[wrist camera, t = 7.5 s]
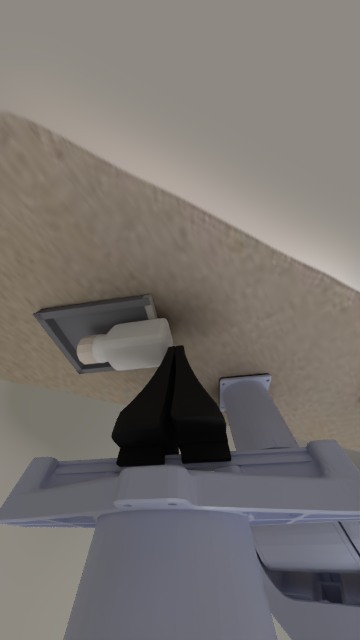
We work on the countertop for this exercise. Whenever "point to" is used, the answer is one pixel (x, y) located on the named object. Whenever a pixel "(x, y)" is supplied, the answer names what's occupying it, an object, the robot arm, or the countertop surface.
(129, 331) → the pepper shaker
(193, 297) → the countertop surface
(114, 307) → the tray
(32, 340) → the countertop surface
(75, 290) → the countertop surface
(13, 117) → the countertop surface
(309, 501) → the robot arm
